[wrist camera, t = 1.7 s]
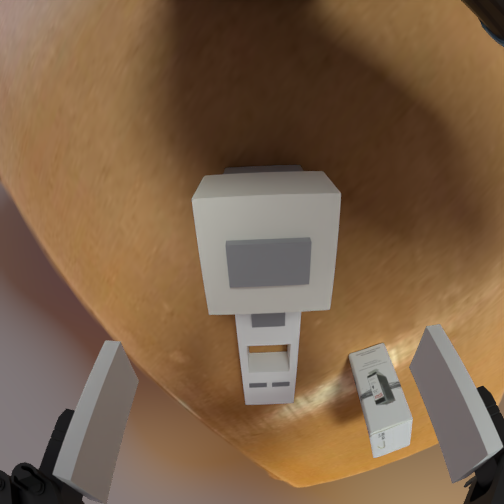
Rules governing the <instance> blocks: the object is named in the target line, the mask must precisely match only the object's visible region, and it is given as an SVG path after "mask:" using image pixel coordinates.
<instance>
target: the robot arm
mask: <svg viewBox="0 0 504 504" xmlns="http://www.w3.org/2000/svg"><path fill="white" fill-rule="evenodd" d="M461 1H462V2H463V3H464V4H465V5H466V6H467V7H468V8H469V9H470V10H471V11H472V12H473V13H474V14H475V15H476V16H477V17H478V19H479V20H480V22H481V25H482V27H483V28H484V30H485V31H486V32H487V33H488V34H489V35H490V36H491V37H492V38H493V39H494V40H495V41H496V42H497V43H498V44H500V45H501V46H503V47H504V0H461ZM409 368H410V370H411V372H412V375H413V377H414V379H415V382H416V384H417V387H418V389H419V391H420V394H421V396H422V399H423V401H424V404H425V406H426V409H427V412H428V414H429V417H430V419H431V422H432V425H433V427H434V430H435V433H436V436H437V438H438V441H439V444H440V447H441V450H442V453H443V456H444V459H445V462H446V465H447V468H448V471H449V474H450V478H451V481H452V483H455V482H457V481H459V480H462V479H464V478H466V477H468V476H469V475H471V474H472V473H473V472H475V476H474V477H473V478H471V479H470V480H469V481H467V482H466V484H465V485H464V487H467V486H468V485H470V484H471V486H470V487H469V491H468V494H467V496H466V499H465V501H464V504H504V418H503V416H502V414H501V413H500V410H499V408H498V406H497V405H496V402H495V400H494V398H493V396H492V394H491V393H490V392H489V391H488V390H487V389H486V388H485V387H484V386H481V387H478V388H476V387H475V385H474V383H473V381H472V379H471V377H470V375H469V374H468V372H467V370H466V368H465V366H464V364H463V363H462V361H461V359H460V357H459V355H458V354H457V352H456V350H455V349H454V347H453V345H452V343H451V342H450V340H449V338H448V337H447V335H446V333H445V332H444V330H443V328H442V327H441V325H440V324H437V325H432V326H426V328H425V331H424V333H423V336H422V338H421V341H420V343H419V346H418V348H417V351H416V353H415V355H414V358H413V360H412V362H411V364H410V367H409ZM138 382H139V380H138V378H137V376H136V374H135V372H134V370H133V368H132V366H131V364H130V362H129V359H128V357H127V355H126V353H125V351H124V349H123V346H122V344H121V342H120V341H105V342H104V345H103V347H102V349H101V351H100V353H99V355H98V357H97V360H96V362H95V364H94V367H93V369H92V371H91V374H90V376H89V378H88V380H87V383H86V385H85V387H84V390H83V392H82V395H81V397H80V400H79V402H78V404H77V407H76V410H75V411H74V410H70V409H66V410H65V411H64V412H63V413H62V414H61V415H60V416H59V418H58V420H57V422H56V425H55V430H53V433H52V435H51V439H50V441H49V443H48V446H47V449H46V452H45V454H44V457H43V460H42V463H41V466H40V468H39V470H38V469H36V468H35V467H34V466H32V465H31V464H29V463H20V464H18V465H17V466H16V467H15V468H14V469H13V471H12V475H11V476H9V475H7V474H6V473H5V472H3V471H1V470H0V504H84V502H83V501H82V497H83V496H85V497H87V498H88V499H90V500H93V501H97V502H100V503H104V504H107V500H108V495H109V490H110V486H111V482H112V478H113V473H114V469H115V465H116V461H117V457H118V453H119V449H120V445H121V442H122V438H123V434H124V430H125V427H126V423H127V420H128V416H129V413H130V409H131V406H132V402H133V399H134V395H135V392H136V389H137V385H138Z"/></svg>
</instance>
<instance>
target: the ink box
mask: <svg viewBox="0 0 504 504" xmlns="http://www.w3.org/2000/svg"><path fill="white" fill-rule="evenodd" d="M349 360H350V364H351V368H352V372H353V376H354V380H355V384H356V388H357V391H358V395H359V399H360V403H361V407H362V410H363V414H364V418H365V422H366V425H367V430H368V434H369V438H370V442H371V446H372V447H371V448H372V453H373V458H376V457H380V456H382V455H385V454H388V453H390V452H393V451H395V450H398V449H401V448H403V447H406V446H409V445H410V438H411V429H412V419H413V418H412V415H411V412H410V410H409V407H408V404H407V401H406V399H405V396H404V393H403V391H402V388H401V385H400V382H399V380H398V377H397V374H396V372H395V369H394V367H393V364H392V362H391V359H390V357H389V354H388V352H387V349H386V347H385V344H384V343H381V344H378V345H375V346H372V347H369V348H366V349H364V350H361V351H357V352H354V353H351V354H349Z"/></svg>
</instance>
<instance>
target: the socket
mask: <svg viewBox="0 0 504 504" xmlns="http://www.w3.org/2000/svg"><path fill="white" fill-rule="evenodd" d="M235 319H236V328H237V337H238V346H239V355H240V363H241V372H242V380H243V388H244V396H245V404H246V405H262V404H284V403H294V394H295V383H296V372H297V361H298V348H299V335H300V321H301V312H284V313H262V314H235ZM284 344H288V346H287V351H286V352H264V353H249V346H262V345H284Z"/></svg>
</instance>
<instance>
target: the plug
mask: <svg viewBox="0 0 504 504" xmlns="http://www.w3.org/2000/svg"><path fill="white" fill-rule="evenodd" d="M340 203H341V193H340V191H339V190H338V189H337V188H336V186H335V185H334V184H333V183H332V181H331V180H330V179H329V178H328V177H327V175H326V174H325V173H324V172H323V171H291V172H259V173H238V174H221V175H206V176H204V177H203V179H202V181H201V182H200V184H199V186H198V188H197V190H196V192H195V194H194V195H193V197H192V206H193V214H194V221H195V229H196V236H197V243H198V250H199V256H200V263H201V269H202V276H203V282H204V288H205V294H206V300H207V306H208V312H209V315H231V314H262V313H284V312H303V311H319V310H330V306H331V298H332V290H333V281H334V272H335V263H336V253H337V242H338V231H339V218H340Z"/></svg>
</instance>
